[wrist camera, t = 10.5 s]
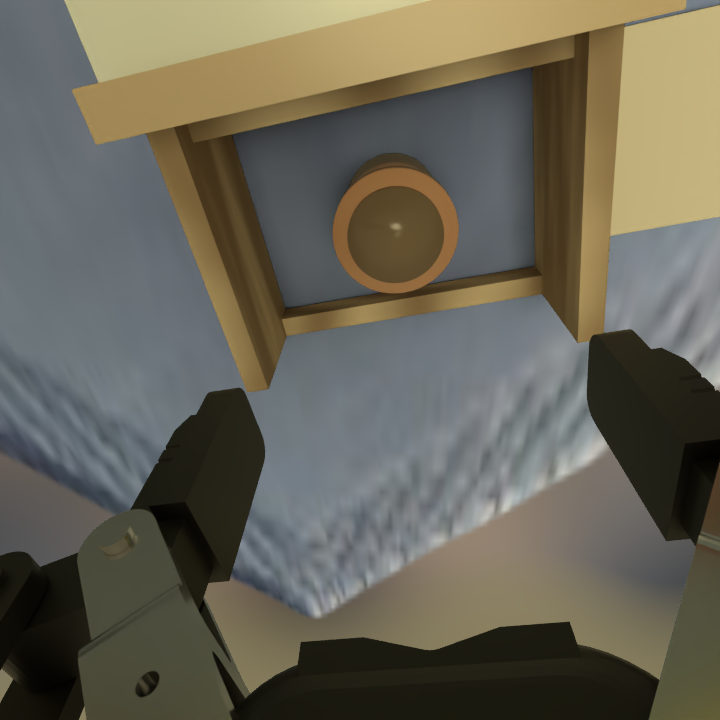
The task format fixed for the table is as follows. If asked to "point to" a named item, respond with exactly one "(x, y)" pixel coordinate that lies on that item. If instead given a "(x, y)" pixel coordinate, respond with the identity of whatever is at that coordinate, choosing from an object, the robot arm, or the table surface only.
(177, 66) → the lid
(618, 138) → the stone tile
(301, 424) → the table surface
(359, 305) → the open wooden frame
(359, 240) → the clay pot
